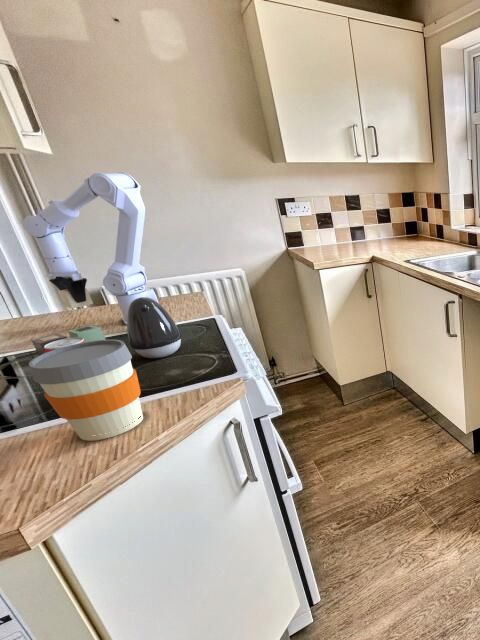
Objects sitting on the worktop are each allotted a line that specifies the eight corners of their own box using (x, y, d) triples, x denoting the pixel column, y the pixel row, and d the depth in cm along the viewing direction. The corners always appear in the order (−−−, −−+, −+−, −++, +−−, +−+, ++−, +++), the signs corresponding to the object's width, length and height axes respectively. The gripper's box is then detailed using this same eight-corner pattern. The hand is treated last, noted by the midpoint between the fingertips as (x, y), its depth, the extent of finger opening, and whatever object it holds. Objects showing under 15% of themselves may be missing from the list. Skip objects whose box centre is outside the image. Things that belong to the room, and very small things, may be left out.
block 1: (65, 350, 111) (57, 333, 110) (74, 354, 109) (66, 336, 108) (40, 358, 107) (31, 340, 105) (49, 361, 105) (39, 343, 103)
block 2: (85, 302, 134) (78, 286, 132) (93, 303, 132) (86, 288, 130) (64, 306, 130) (57, 290, 128) (72, 308, 128) (65, 292, 126)
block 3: (98, 341, 117) (91, 324, 115) (107, 344, 115) (100, 327, 113) (75, 348, 113) (67, 330, 111) (84, 351, 111) (76, 333, 109)
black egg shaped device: (137, 366, 102) (113, 307, 96) (135, 353, 109) (113, 297, 103) (188, 354, 108) (168, 297, 102) (183, 343, 115) (165, 289, 109)
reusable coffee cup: (171, 411, 83) (144, 341, 77) (101, 451, 71) (63, 372, 65) (122, 405, 85) (92, 336, 79) (46, 442, 74) (5, 365, 68)
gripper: (28, 257, 125) (49, 301, 130) (51, 261, 119) (71, 307, 124) (60, 253, 131) (78, 295, 136) (82, 256, 125) (101, 300, 130)
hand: (77, 300), depth 130 cm, fingers closed on block 2, 5 cm apart
